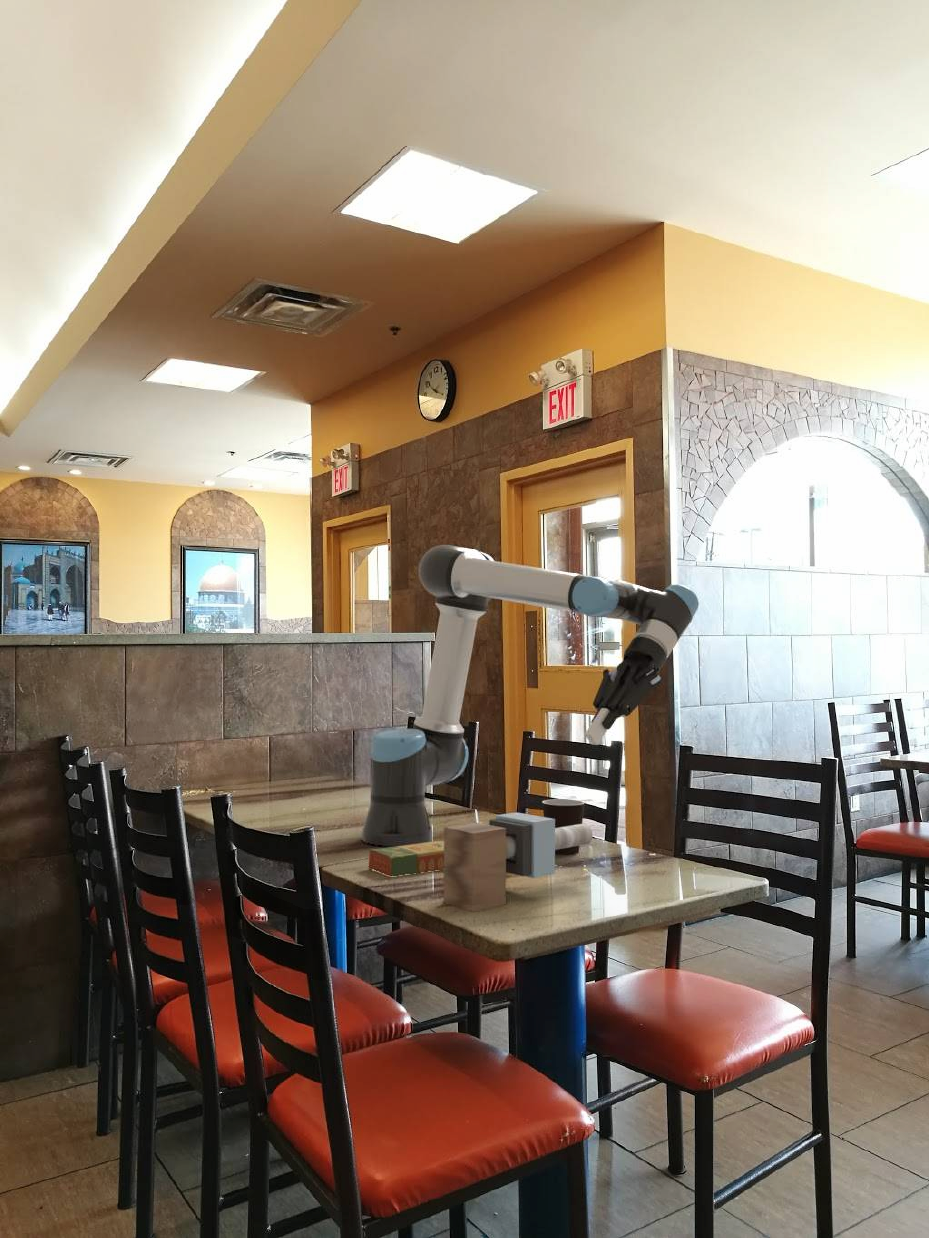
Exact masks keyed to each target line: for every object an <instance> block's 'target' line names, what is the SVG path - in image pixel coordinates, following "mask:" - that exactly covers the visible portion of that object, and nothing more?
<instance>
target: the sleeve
mask: <svg viewBox="0 0 929 1238" xmlns="http://www.w3.org/2000/svg"><path fill="white" fill-rule="evenodd" d="M495 819H502V820H508V821H513V822H518V823H524V824H529V825H532V875H527V876H526V877H527V878H532V879H537V878H541V877H542V878H543V877H546V876H550V875H552V876H553V875H554V874H556V854H555V819H552V818H546V817H544V816H539V815H533V814H528V813H522V812H510V813H503V814H496V815H495ZM508 835H511V834H509V833H506V836H508ZM509 860H514V861H516V858H509Z"/></svg>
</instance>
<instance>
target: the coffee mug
mask: <svg viewBox="0 0 929 1238" xmlns="http://www.w3.org/2000/svg"><path fill="white" fill-rule="evenodd" d="M541 804H542V813H543V817H546V818H552V819H555V828H559V827H566V826H572V825H578V824H583V819H584V812H585V801H582V800H578V799H567V798H566V799H565V798H564V799H562V798H561V799H560V798H554V799H546V800H545V799H544V800H542V803H541ZM580 847H581V845H579V846H574V847H568V848H563V849H557V850H555V855H559V856H562V855H563V856H572V855H578V854H579V853H580Z"/></svg>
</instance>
